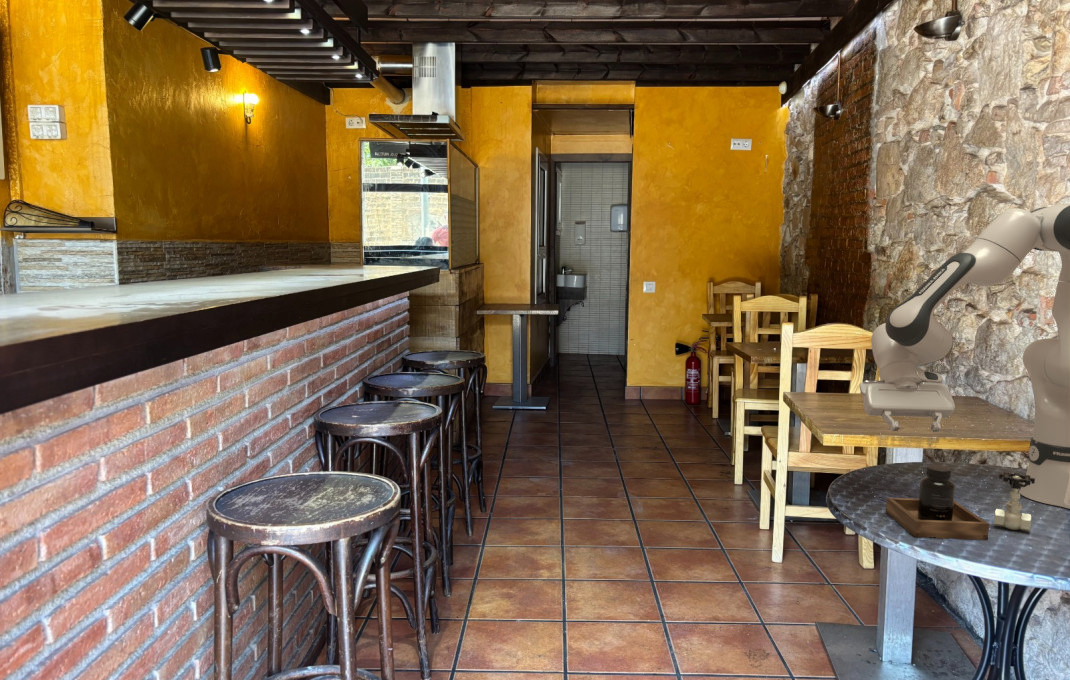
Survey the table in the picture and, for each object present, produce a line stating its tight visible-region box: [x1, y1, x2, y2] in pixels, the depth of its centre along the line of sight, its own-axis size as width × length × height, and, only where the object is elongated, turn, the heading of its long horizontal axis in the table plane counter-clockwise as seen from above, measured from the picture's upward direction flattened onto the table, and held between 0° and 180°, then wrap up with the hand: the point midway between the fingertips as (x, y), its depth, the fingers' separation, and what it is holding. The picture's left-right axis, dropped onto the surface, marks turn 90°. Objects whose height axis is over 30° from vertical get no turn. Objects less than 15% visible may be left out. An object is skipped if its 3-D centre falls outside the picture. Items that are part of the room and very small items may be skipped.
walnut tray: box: [885, 497, 990, 541], centre depth 168 cm, size 15×15×4 cm
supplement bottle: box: [918, 464, 956, 521], centre depth 167 cm, size 7×7×12 cm
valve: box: [993, 471, 1035, 532], centre depth 166 cm, size 7×7×12 cm
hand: (915, 430), depth 178 cm, fingers open, 8 cm apart
